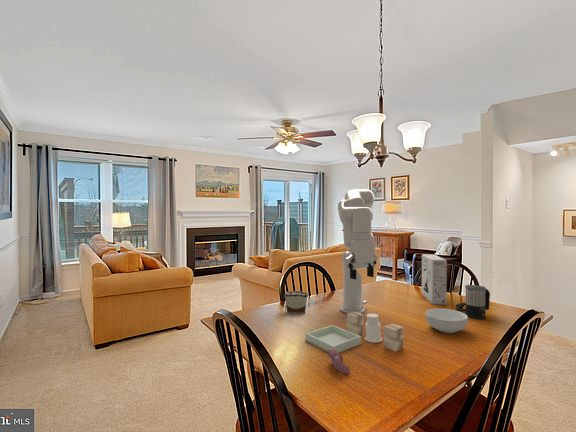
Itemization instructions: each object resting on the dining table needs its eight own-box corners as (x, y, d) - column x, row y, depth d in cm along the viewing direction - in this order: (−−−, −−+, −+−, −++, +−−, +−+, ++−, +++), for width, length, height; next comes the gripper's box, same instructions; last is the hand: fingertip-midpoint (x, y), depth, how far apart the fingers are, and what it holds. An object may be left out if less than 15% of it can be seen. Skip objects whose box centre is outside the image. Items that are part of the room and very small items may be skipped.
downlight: (384, 337, 132) (383, 313, 132) (383, 344, 126) (382, 318, 125) (364, 335, 135) (363, 312, 135) (362, 342, 128) (361, 317, 128)
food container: (308, 309, 169) (308, 290, 168) (308, 313, 163) (308, 294, 162) (285, 309, 170) (285, 290, 170) (284, 312, 164) (284, 293, 164)
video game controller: (332, 365, 112) (323, 347, 112) (343, 359, 112) (334, 341, 112) (339, 380, 102) (329, 361, 102) (351, 373, 102) (342, 354, 102)
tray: (332, 331, 138) (332, 324, 138) (361, 343, 126) (361, 336, 126) (305, 340, 129) (305, 333, 129) (333, 354, 116) (333, 346, 116)
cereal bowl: (434, 320, 153) (434, 305, 152) (472, 329, 141) (473, 313, 141) (418, 329, 141) (419, 313, 141) (459, 340, 129) (460, 323, 129)
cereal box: (421, 294, 200) (421, 254, 199) (434, 294, 199) (434, 254, 198) (432, 304, 178) (432, 259, 178) (446, 304, 177) (446, 259, 177)
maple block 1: (354, 329, 141) (354, 311, 141) (363, 332, 137) (363, 314, 137) (346, 332, 138) (346, 313, 138) (355, 335, 134) (355, 316, 134)
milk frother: (482, 321, 151) (482, 290, 151) (447, 313, 163) (448, 284, 163) (492, 314, 161) (492, 285, 160) (458, 307, 173) (459, 280, 172)
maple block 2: (391, 343, 126) (391, 323, 126) (403, 348, 122) (403, 327, 122) (384, 347, 123) (384, 326, 123) (395, 351, 119) (395, 330, 119)
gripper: (370, 235, 141) (370, 274, 141) (340, 236, 132) (339, 278, 132) (383, 236, 134) (383, 277, 134) (352, 237, 126) (352, 281, 125)
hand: (361, 277), depth 133 cm, fingers open, 9 cm apart
